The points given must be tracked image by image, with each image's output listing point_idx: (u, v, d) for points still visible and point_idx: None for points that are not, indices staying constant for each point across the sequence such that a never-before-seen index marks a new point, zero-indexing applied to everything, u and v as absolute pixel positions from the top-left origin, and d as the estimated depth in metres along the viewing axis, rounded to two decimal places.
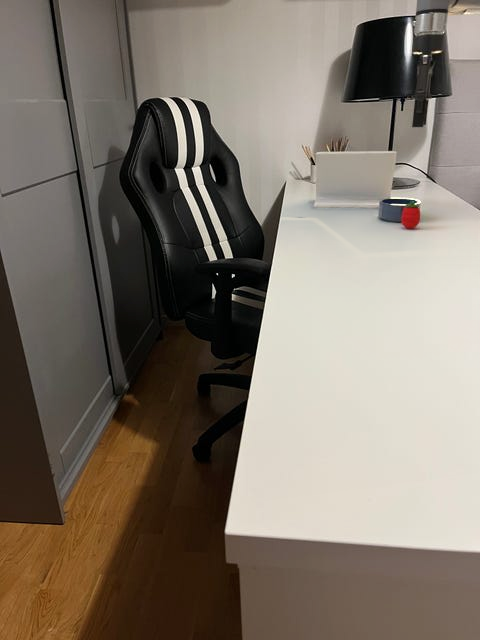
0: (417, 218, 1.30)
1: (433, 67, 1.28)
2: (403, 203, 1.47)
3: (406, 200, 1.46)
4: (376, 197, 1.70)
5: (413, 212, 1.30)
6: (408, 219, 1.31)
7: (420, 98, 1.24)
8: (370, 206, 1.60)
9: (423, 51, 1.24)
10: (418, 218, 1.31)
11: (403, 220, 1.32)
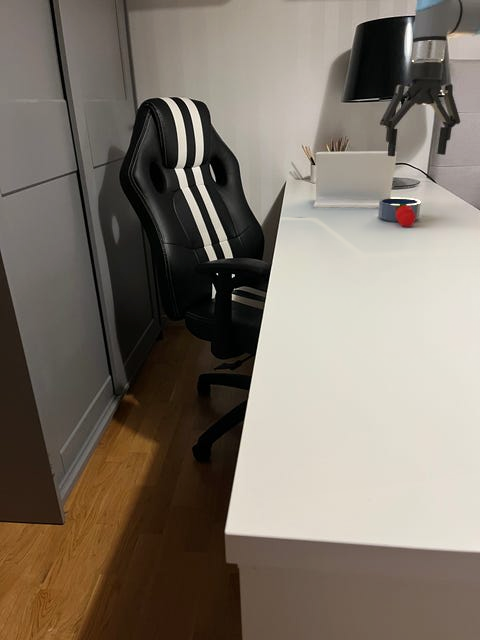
0: (410, 209, 1.33)
1: (431, 95, 1.21)
2: (403, 203, 1.47)
3: (406, 200, 1.46)
4: (376, 197, 1.70)
5: (403, 206, 1.34)
6: (402, 212, 1.33)
7: (387, 128, 1.25)
8: (370, 206, 1.60)
9: (409, 80, 1.22)
10: (411, 210, 1.34)
11: (398, 217, 1.34)
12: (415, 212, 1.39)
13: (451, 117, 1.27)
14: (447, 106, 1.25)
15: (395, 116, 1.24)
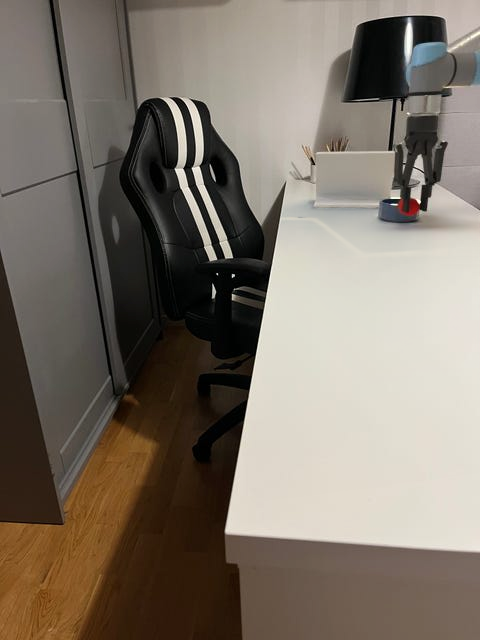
0: None
1: (426, 146, 1.23)
2: None
3: None
4: (376, 197, 1.70)
5: None
6: None
7: (401, 186, 1.28)
8: (370, 206, 1.60)
9: (406, 132, 1.24)
10: None
11: None
12: None
13: (434, 174, 1.29)
14: (434, 162, 1.28)
15: (404, 174, 1.27)
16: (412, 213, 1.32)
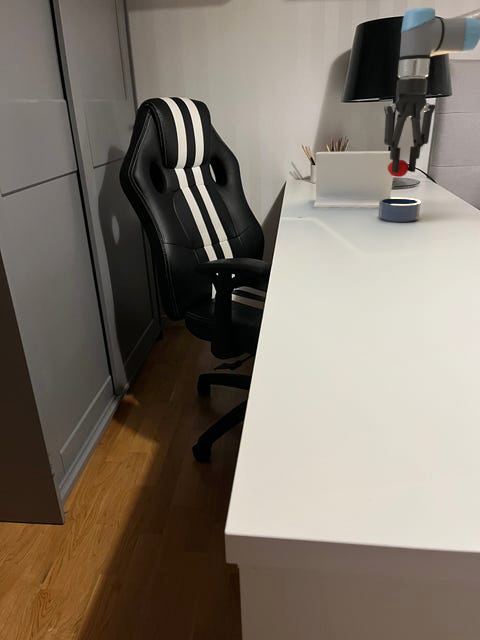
0: None
1: (415, 108, 1.31)
2: (403, 203, 1.47)
3: (406, 200, 1.46)
4: (376, 197, 1.70)
5: None
6: None
7: (390, 146, 1.36)
8: (370, 206, 1.60)
9: (396, 95, 1.31)
10: None
11: None
12: (415, 212, 1.39)
13: (422, 136, 1.36)
14: (423, 124, 1.35)
15: (394, 135, 1.35)
16: (401, 174, 1.40)
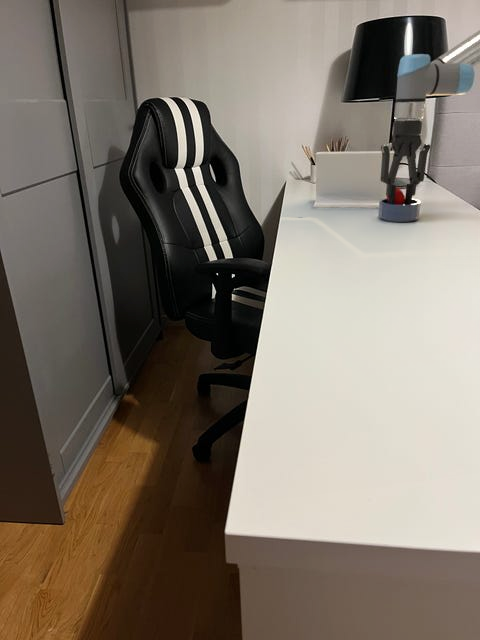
0: (402, 192, 1.43)
1: (411, 148, 1.35)
2: None
3: None
4: (376, 197, 1.70)
5: (396, 188, 1.44)
6: None
7: (387, 184, 1.40)
8: (370, 206, 1.60)
9: None
10: (402, 193, 1.43)
11: None
12: (415, 212, 1.39)
13: (418, 174, 1.41)
14: (418, 163, 1.39)
15: (390, 173, 1.39)
16: None
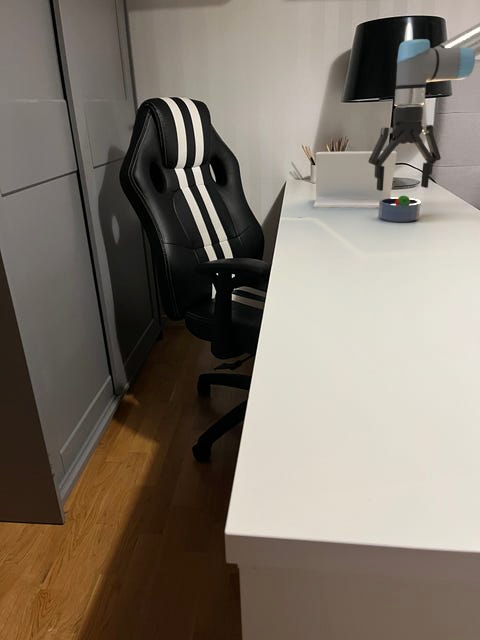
0: None
1: (413, 135, 1.34)
2: None
3: None
4: (376, 197, 1.70)
5: None
6: None
7: (375, 165, 1.38)
8: (370, 206, 1.60)
9: (393, 122, 1.35)
10: None
11: None
12: (415, 212, 1.39)
13: (432, 154, 1.39)
14: (428, 144, 1.38)
15: (382, 155, 1.37)
16: None
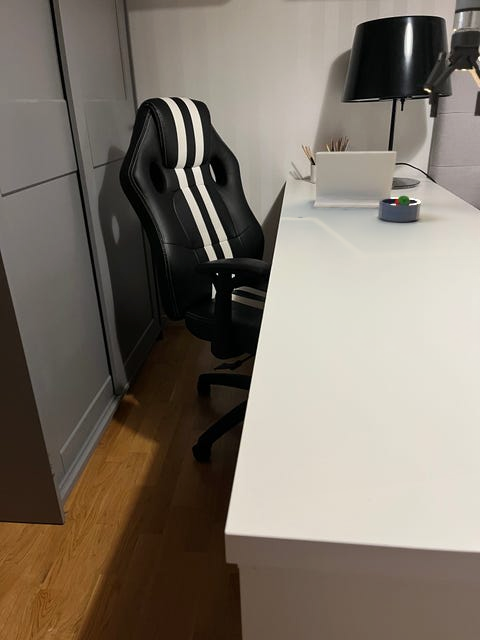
0: None
1: (470, 61, 1.36)
2: None
3: None
4: (376, 197, 1.70)
5: None
6: None
7: (430, 91, 1.40)
8: (370, 206, 1.60)
9: (450, 48, 1.37)
10: None
11: None
12: (415, 212, 1.39)
13: None
14: None
15: (437, 81, 1.39)
16: None
